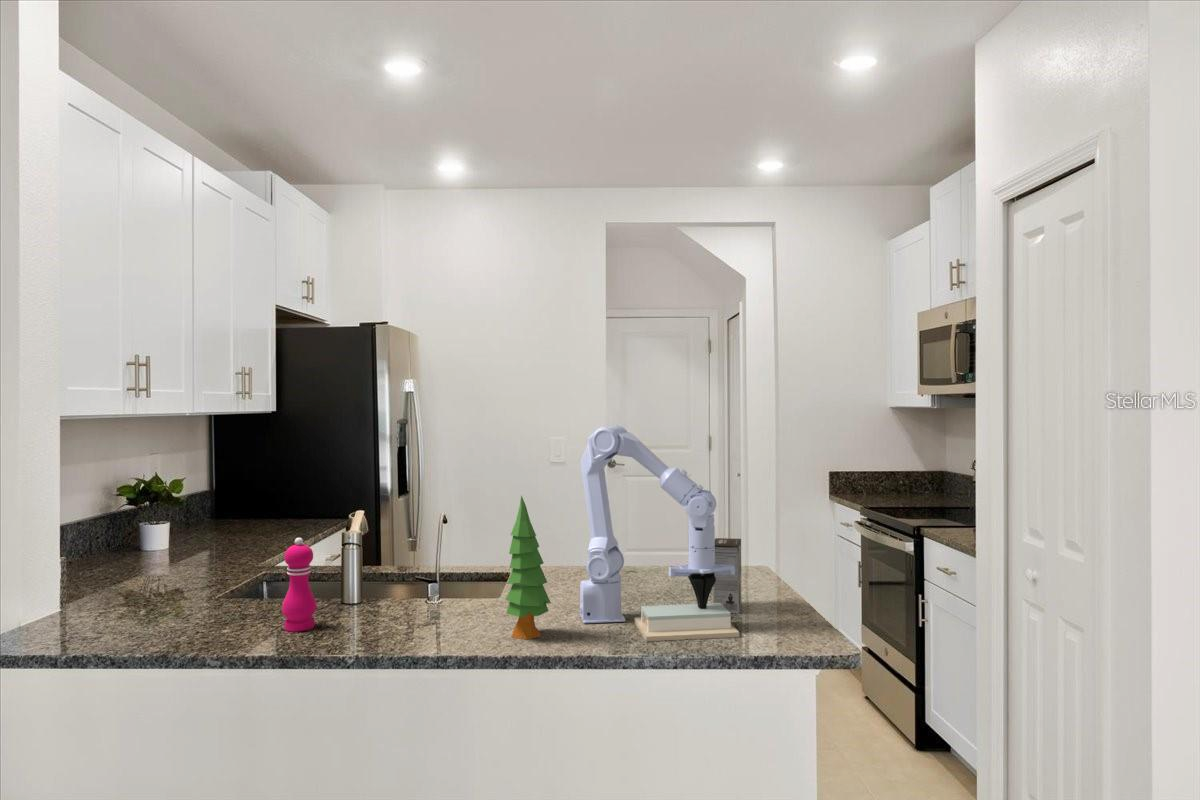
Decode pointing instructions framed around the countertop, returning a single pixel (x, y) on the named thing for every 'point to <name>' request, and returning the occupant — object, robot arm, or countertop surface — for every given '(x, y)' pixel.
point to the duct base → (685, 628)
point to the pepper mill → (299, 589)
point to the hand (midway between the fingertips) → (702, 608)
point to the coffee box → (726, 584)
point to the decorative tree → (526, 578)
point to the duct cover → (684, 611)
